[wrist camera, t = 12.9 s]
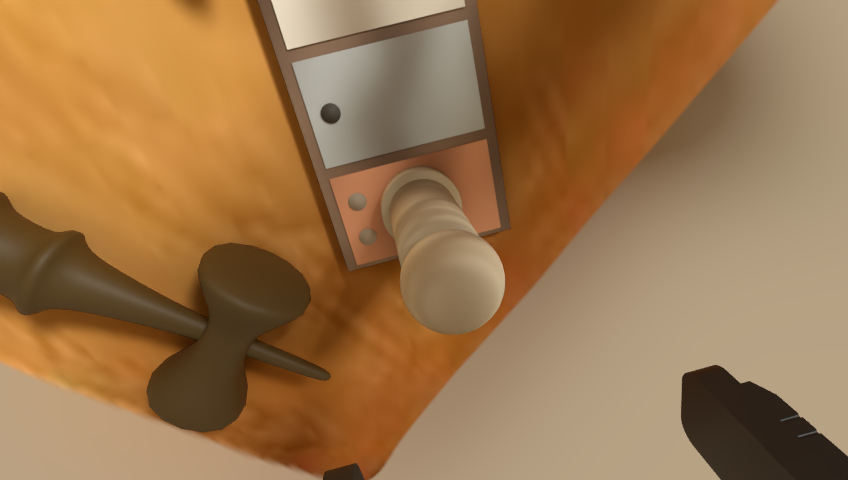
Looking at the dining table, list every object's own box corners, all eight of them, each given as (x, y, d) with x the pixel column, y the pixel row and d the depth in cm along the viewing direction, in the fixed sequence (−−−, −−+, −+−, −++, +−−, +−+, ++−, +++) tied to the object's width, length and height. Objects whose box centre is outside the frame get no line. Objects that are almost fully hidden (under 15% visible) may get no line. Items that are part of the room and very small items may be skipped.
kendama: (14, 128, 23) (369, 290, 29) (-27, 277, 26) (302, 396, 32) (-97, 159, 17) (368, 351, 23) (-134, 343, 20) (288, 472, 26)
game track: (451, -135, 20) (455, -143, 20) (506, 223, 28) (511, 229, 27) (232, -85, 20) (226, -90, 19) (348, 265, 28) (348, 272, 27)
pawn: (449, 156, 25) (516, 235, 15) (464, 228, 27) (533, 341, 17) (371, 177, 25) (385, 271, 15) (391, 248, 27) (416, 375, 17)
